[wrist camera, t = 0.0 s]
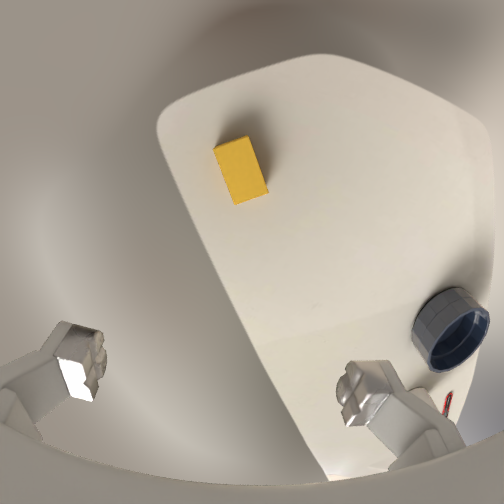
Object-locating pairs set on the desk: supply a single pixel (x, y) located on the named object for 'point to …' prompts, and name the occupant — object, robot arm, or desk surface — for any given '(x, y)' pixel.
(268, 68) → the desk surface
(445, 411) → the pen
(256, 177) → the sponge
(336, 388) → the robot arm
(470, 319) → the bowl
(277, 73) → the desk surface
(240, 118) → the desk surface
